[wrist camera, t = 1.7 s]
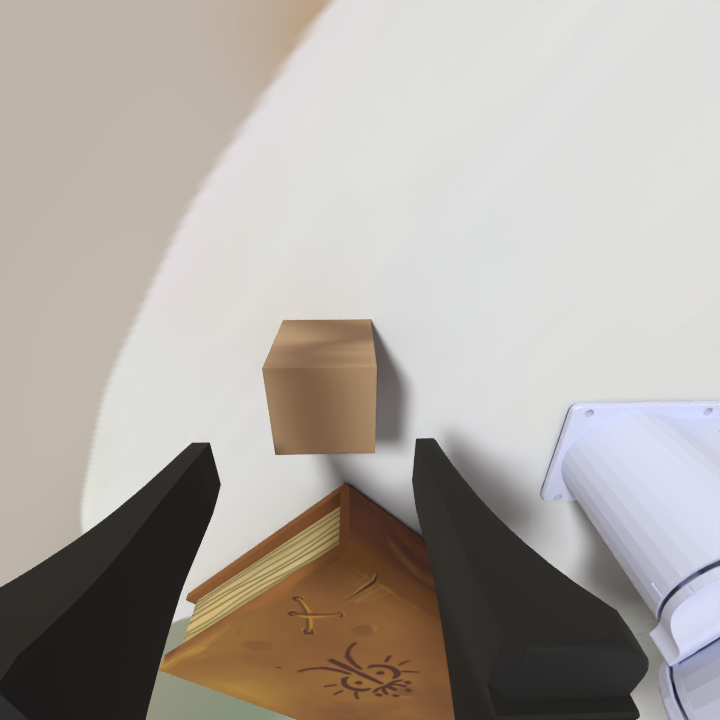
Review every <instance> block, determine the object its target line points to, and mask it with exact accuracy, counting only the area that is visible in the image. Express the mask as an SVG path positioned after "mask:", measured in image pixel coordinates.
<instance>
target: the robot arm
mask: <svg viewBox="0 0 720 720" xmlns="http://www.w3.org/2000/svg"><path fill="white" fill-rule="evenodd" d="M588 410H589V411H588ZM586 411H588V412H587V413H586ZM412 483H413V490H414V498H415V504H416V510H417V514H418V518H419V522H420V526H421V530H422V534H423V538H424V542H425V546H426V550H427V554H428V558H429V562H430V566H431V569H432V574H433V578H434V583H435V588H436V594H437V600H438V606H439V612H440V619H441V625H442V632H443V638H444V645H445V652H446V659H447V666H448V673H449V680H450V687H451V694H452V702H453V710H454V717H455V720H636V719H638V718H639V717H640V715H639V711H638V709H637V707H636V705H635V703H634V701H633V699H632V697H631V696H630V693H631V692H632V691H633V690H634V688H635V687H636V686H637V685H638V684H639V682H640V681H641V680H642V679H643V678H644V676H645V674H646V672H647V670H648V666H649V665H648V658H647V656H646V655H645V653H644V651H643V650H642V648H641V646H640V645H639V643H638V641H637V640H636V638H635V636H634V635H633V633H632V632H631V630H630V628H629V627H628V626H627V624H626V623H625V622H624V620H623V619H622V617H621V616H620V614H619V613H618V611H617V610H615V609H614V608H612V607H611V606H609V605H608V604H606V603H605V602H603V601H602V600H600V599H599V598H597V597H596V596H594V595H593V594H591V593H590V592H588V591H587V590H585V589H584V588H582V587H581V586H579V585H578V584H576V583H575V582H574V581H572V580H571V579H570V578H568V577H567V576H566V575H564V574H563V573H561V572H560V571H559V570H557V569H556V568H555V567H553V566H552V565H551V564H550V563H548V562H547V561H546V560H545V559H544V558H542V557H541V556H540V555H539V554H538V553H536V552H535V551H534V550H533V549H532V548H530V547H529V546H528V545H527V544H525V543H524V542H523V541H522V540H521V539H520V538H519V537H518V536H517V535H516V534H514V533H513V532H512V531H511V530H510V529H509V528H508V527H507V526H506V525H505V524H504V523H503V522H502V521H501V520H500V519H499V518H498V517H497V516H496V515H495V514H494V513H493V512H492V511H491V510H490V509H489V508H488V507H487V506H486V505H485V503H484V502H483V501H482V500H481V499H480V498H479V497H478V496H477V494H476V493H475V492H474V491H473V490H472V489H471V487H470V486H469V485H468V484H467V482H466V481H465V480H464V479H463V477H462V476H461V475H460V474H459V472H458V471H457V470H456V468H455V467H454V466H453V464H452V463H451V462H450V460H449V459H448V458H447V456H446V455H445V453H444V452H443V450H442V449H441V447H440V446H439V444H438V443H437V441H436V440H435V439H434V438H422V439H416V445H415V456H414V467H413V478H412ZM220 486H221V483H220V480H219V476H218V472H217V468H216V465H215V461H214V457H213V453H212V450H211V446H210V443H191V444H190V445H189V446H188V447H187V448H186V449H185V450H183V451H182V452H181V453H180V454H179V455H178V456H177V457H176V458H175V459H174V460H173V461H172V462H171V463H169V464H168V465H167V466H166V467H165V468H164V469H163V470H162V471H161V472H160V473H159V474H157V475H156V476H155V477H154V478H153V479H152V480H151V481H150V482H149V483H147V484H146V485H145V486H144V487H143V488H142V489H141V490H139V491H138V492H137V493H136V494H135V495H133V496H132V497H131V498H130V499H129V500H127V501H126V502H125V503H124V504H123V505H121V506H120V507H119V508H118V509H117V510H115V511H114V512H113V513H112V514H110V515H109V516H108V517H107V518H105V519H104V520H103V521H101V522H100V523H99V524H97V525H96V526H95V527H93V528H92V529H91V530H89V531H88V532H86V533H85V534H84V535H82V536H81V537H80V538H78V539H77V540H75V541H74V542H72V543H71V544H69V545H68V546H66V547H65V548H63V549H62V550H60V551H59V552H57V553H56V554H54V555H52V556H51V557H49V558H48V559H46V560H45V561H43V562H42V563H40V564H39V565H37V566H36V567H34V568H32V569H31V570H29V571H27V572H26V573H24V574H23V575H21V576H19V577H18V578H16V579H14V580H13V581H11V582H9V583H7V584H5V585H4V586H2V587H0V720H145V719H146V715H147V711H148V707H149V703H150V699H151V695H152V691H153V688H154V684H155V680H156V676H157V672H158V668H159V665H160V661H161V657H162V654H163V651H164V647H165V643H166V640H167V636H168V633H169V629H170V626H171V623H172V620H173V617H174V613H175V610H176V607H177V604H178V600H179V597H180V594H181V591H182V589H183V586H184V583H185V580H186V578H187V575H188V573H189V571H190V568H191V566H192V563H193V561H194V559H195V556H196V554H197V551H198V549H199V547H200V544H201V542H202V539H203V537H204V534H205V532H206V530H207V527H208V525H209V522H210V520H211V517H212V515H213V512H214V508H215V505H216V501H217V498H218V494H219V490H220ZM541 496H542V498H543V500H544V501H546V502H574V501H578V503H579V504H580V506H581V507H582V509H583V510H584V512H585V513H586V515H587V516H588V518H589V519H590V521H591V522H592V524H593V525H594V527H595V528H596V529H597V531H598V532H599V534H600V535H601V537H602V538H603V540H604V541H605V543H606V544H607V546H608V547H609V549H610V550H611V552H612V553H613V555H614V556H615V558H616V559H617V561H618V562H619V564H620V565H621V567H622V568H623V570H624V571H625V573H626V574H627V576H628V577H629V579H630V580H631V582H632V583H633V585H634V586H635V588H636V589H637V591H638V592H639V594H640V595H641V597H642V598H643V599H644V601H645V602H646V604H647V605H648V607H649V608H650V610H651V611H652V613H653V614H654V616H655V617H656V619H657V620H658V622H659V624H658V626H657V627H656V628H655V629H654V630H652V631H651V632H650V634H649V635H650V636H651V638H652V640H653V641H654V643H655V644H656V646H657V647H658V649H659V651H660V652H661V654H662V655H663V657H664V658H665V659H664V660H663V661H662V662H661V665H660V667H659V670H658V684H659V690H660V694H661V698H662V702H663V705H664V707H665V710H666V713H667V715H668V718H669V720H720V401H687V402H619V403H578V404H575V405H573V406H572V407H571V408H570V410H569V412H568V415H567V418H566V421H565V424H564V427H563V430H562V433H561V436H560V439H559V442H558V445H557V448H556V451H555V453H554V456H553V459H552V462H551V465H550V468H549V471H548V474H547V477H546V480H545V483H544V486H543V489H542V492H541Z"/></svg>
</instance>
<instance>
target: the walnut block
mask: <svg viewBox="0 0 720 720" xmlns="http://www.w3.org/2000/svg"><path fill="white" fill-rule="evenodd" d="M262 370H263V377H264V383H265V390H266V396H267V403H268V409H269V416H270V422H271V429H272V435H273V442H274V448H275V455H294V454H352V453H375V429H376V386H377V364H376V356H375V348H374V340H373V332H372V324H371V319H367V320H283V322H282V324H281V327H280V329H279V331H278V333H277V336H276V338H275V340H274V343H273V345H272V347H271V350H270V352H269V354H268V356H267V359H266V361H265V363H264V366H263V368H262Z"/></svg>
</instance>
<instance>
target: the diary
mask: <svg viewBox="0 0 720 720" xmlns="http://www.w3.org/2000/svg"><path fill="white" fill-rule="evenodd" d="M186 600H187V601H189V602H191V603H194V604H196V606H195V609H194V612H193V615H192V617H191V620H190V623H189V626H188V629H187V632H186V634H185V637H184V640H183V643H182V644H181V645H180V646H178V647H177V648H175V649H174V650H172V651H170V652H169V653H167V654H166V655H165V657H164V659H163V662H162V664H161V667H160V671H163V672H166V673H169V674H171V675H174V676H177V677H180V678H182V679H185V680H188V681H191V682H194V683H197V684H199V685H202V686H205V687H207V688H210V689H213V690H216V691H219V692H222V693H224V694H227V695H230V696H233V697H235V698H238V699H241V700H244V701H246V702H249V703H252V704H255V705H258V706H261V707H263V708H266V709H269V710H271V711H274V712H277V713H280V714H283V715H286V716H288V717H291V718H294V719H297V720H455V717H454V710H453V702H452V694H451V687H450V680H449V673H448V666H447V659H446V652H445V645H444V638H443V632H442V625H441V619H440V612H439V606H438V600H437V594H436V588H435V583H434V578H433V574H432V569H431V566H430V562H429V558H428V554H427V550H426V546H425V542H424V539H422V538H421V537H420V536H418V535H417V534H416V533H414V532H413V531H411V530H410V529H409V528H407V527H406V526H404V525H403V524H402V523H400V522H399V521H398V520H396V519H395V518H393V517H392V516H391V515H389V514H388V513H386V512H385V511H384V510H382V509H381V508H380V507H378V506H377V505H375V504H374V503H373V502H371V501H370V500H368V499H367V498H366V497H364V496H363V495H362V494H360V493H359V492H357V491H356V490H355V489H353V488H352V487H351V486H349V485H347V484H343V485H342V486H340V487H339V488H338V489H336V490H335V491H333V492H332V493H330V494H329V495H328V496H326V497H325V498H323V499H322V500H321V501H319V502H318V503H316V504H315V505H313V506H312V507H311V508H309V509H308V510H306V511H305V512H304V513H302V514H301V515H299V516H298V517H296V518H295V519H294V520H292V521H291V522H289V523H288V524H287V525H285V526H284V527H282V528H281V529H279V530H278V531H277V532H275V533H274V534H272V535H271V536H269V537H268V538H267V539H265V540H264V541H262V542H261V543H260V544H258V545H257V546H255V547H254V548H252V549H251V550H250V551H248V552H247V553H245V554H244V555H243V556H241V557H240V558H238V559H237V560H235V561H234V562H233V563H231V564H230V565H228V566H227V567H226V568H224V569H223V570H221V571H220V572H218V573H217V574H216V575H214V576H213V577H211V578H210V579H208V580H207V581H206V582H204V583H203V584H201V585H200V586H199V587H197V588H196V589H194V590H193V591H191V592H190V593H189V594H188V596H187V599H186Z"/></svg>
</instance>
